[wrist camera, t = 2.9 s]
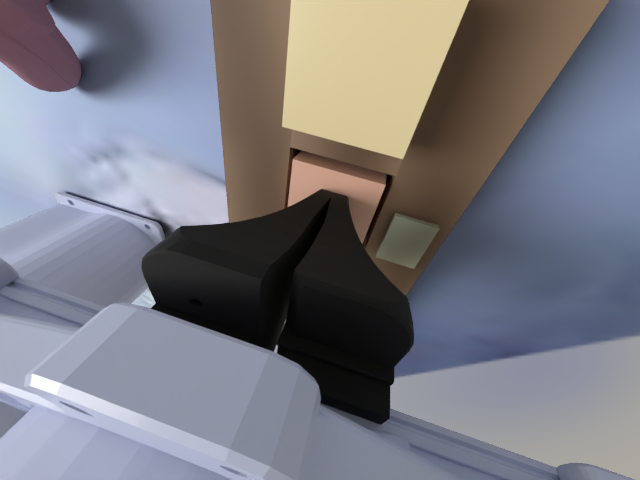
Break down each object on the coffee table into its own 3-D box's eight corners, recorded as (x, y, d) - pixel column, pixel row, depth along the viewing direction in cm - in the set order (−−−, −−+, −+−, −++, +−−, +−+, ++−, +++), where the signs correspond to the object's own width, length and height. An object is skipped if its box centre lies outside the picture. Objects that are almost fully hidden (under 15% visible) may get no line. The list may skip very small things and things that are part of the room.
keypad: (251, 332, 26) (238, 357, 24) (245, -93, 8) (190, -152, 6) (345, 365, 25) (340, 393, 23) (580, -27, 7) (662, -66, 5)
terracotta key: (300, 207, 14) (284, 232, 12) (310, 141, 12) (292, 159, 10) (363, 225, 14) (357, 254, 12) (386, 162, 12) (385, 185, 9)
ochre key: (306, 112, 10) (282, 126, 8) (325, -31, 7) (296, -71, 5) (400, 136, 9) (402, 159, 7) (454, -3, 7) (482, -33, 5)
